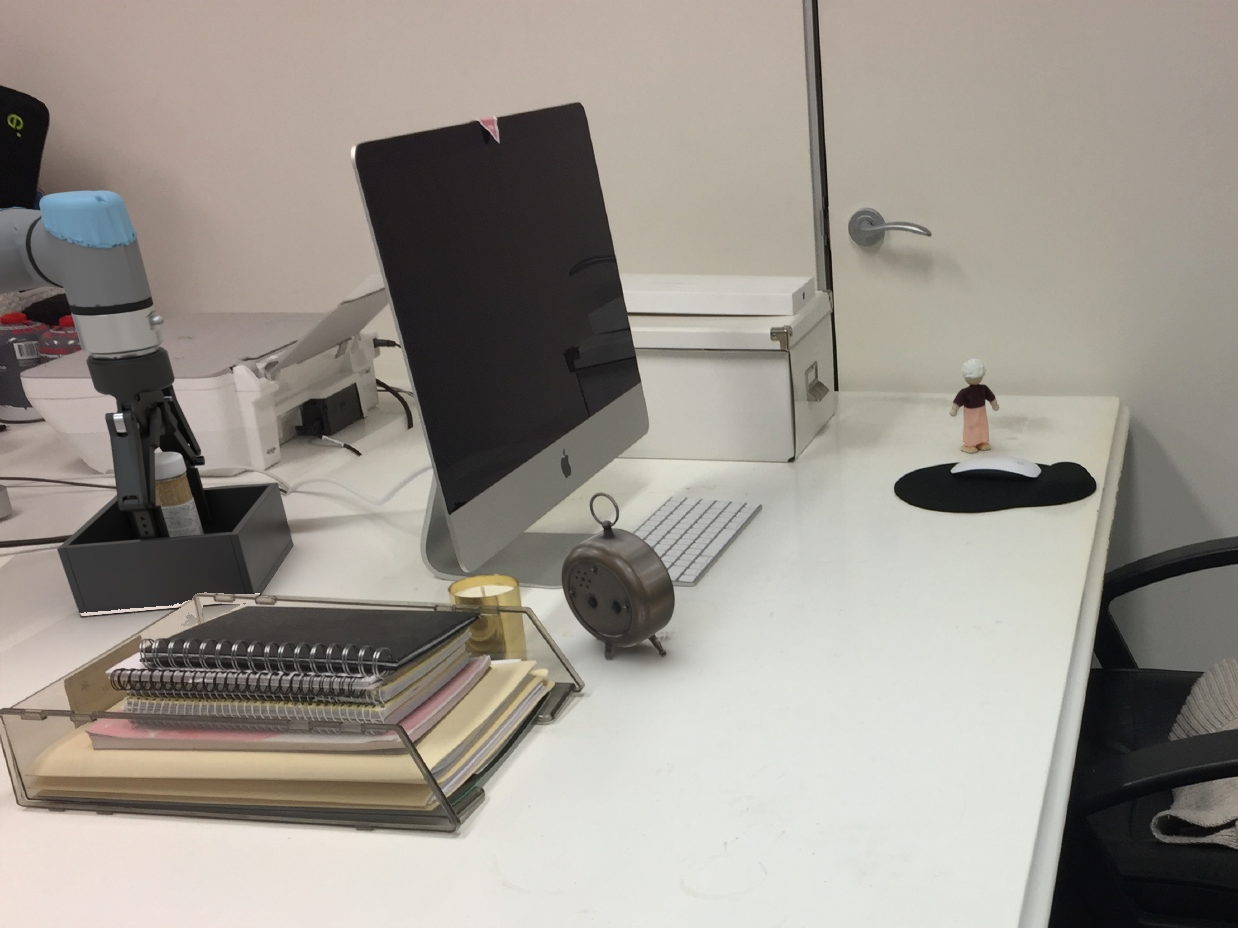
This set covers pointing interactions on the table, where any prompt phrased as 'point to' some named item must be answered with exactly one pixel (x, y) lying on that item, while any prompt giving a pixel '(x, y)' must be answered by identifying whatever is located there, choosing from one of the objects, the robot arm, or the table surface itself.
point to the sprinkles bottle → (175, 495)
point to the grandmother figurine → (974, 407)
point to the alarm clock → (618, 586)
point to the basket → (179, 553)
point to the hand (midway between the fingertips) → (181, 543)
